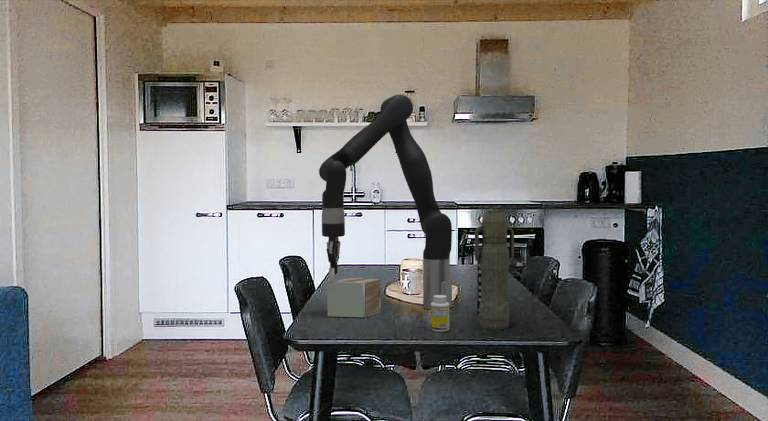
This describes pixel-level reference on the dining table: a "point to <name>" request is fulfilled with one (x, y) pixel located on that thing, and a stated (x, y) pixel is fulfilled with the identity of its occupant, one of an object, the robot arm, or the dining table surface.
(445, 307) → the supplement bottle
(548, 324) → the dining table surface
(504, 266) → the thermos
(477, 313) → the white-spotted black cylinder
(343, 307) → the grey-green rectangular panel
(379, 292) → the birch box
